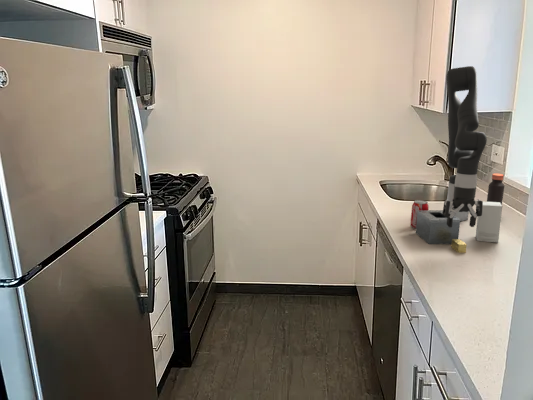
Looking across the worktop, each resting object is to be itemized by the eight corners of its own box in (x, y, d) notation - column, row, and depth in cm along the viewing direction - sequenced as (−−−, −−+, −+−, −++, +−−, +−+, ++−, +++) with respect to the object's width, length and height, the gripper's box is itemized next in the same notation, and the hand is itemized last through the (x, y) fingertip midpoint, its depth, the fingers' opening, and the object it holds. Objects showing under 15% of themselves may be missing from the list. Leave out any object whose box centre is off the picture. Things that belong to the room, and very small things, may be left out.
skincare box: (496, 238, 192) (501, 202, 188) (498, 243, 186) (503, 206, 182) (474, 236, 195) (478, 200, 191) (475, 241, 189) (480, 204, 185)
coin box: (442, 232, 199) (445, 210, 197) (457, 243, 186) (460, 219, 183) (415, 232, 199) (417, 210, 196) (428, 244, 185) (430, 220, 183)
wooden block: (458, 247, 182) (459, 239, 181) (465, 253, 176) (466, 244, 175) (451, 247, 182) (452, 239, 181) (458, 253, 176) (459, 244, 175)
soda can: (427, 230, 202) (430, 204, 199) (411, 229, 203) (413, 203, 200) (425, 225, 208) (428, 200, 205) (409, 224, 210) (411, 199, 207)
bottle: (485, 215, 224) (490, 175, 219) (484, 212, 230) (489, 172, 225) (500, 217, 221) (506, 176, 216) (499, 213, 227) (505, 173, 222)
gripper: (478, 183, 176) (473, 223, 180) (442, 183, 176) (438, 224, 180) (489, 187, 169) (483, 229, 173) (451, 187, 168) (446, 229, 172)
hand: (460, 226), depth 176 cm, fingers open, 8 cm apart
